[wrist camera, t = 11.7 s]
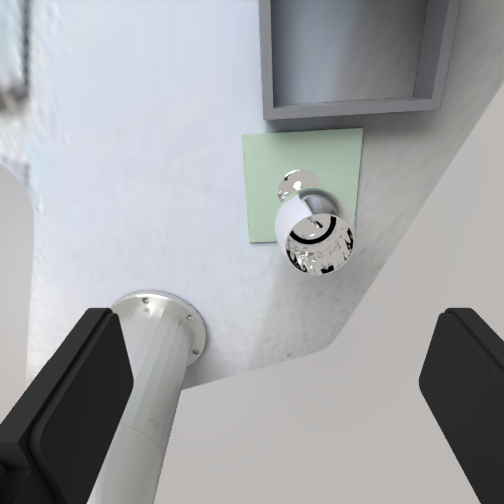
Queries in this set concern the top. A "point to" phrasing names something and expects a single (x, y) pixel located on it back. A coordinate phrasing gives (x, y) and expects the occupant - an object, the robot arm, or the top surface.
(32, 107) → the top surface
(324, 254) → the wineglass
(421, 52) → the case
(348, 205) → the mat
